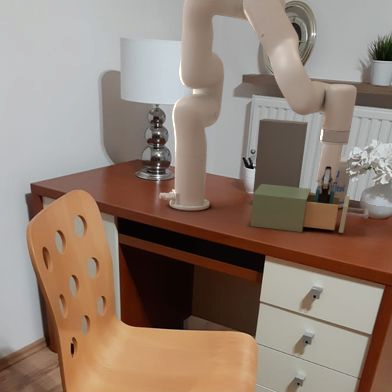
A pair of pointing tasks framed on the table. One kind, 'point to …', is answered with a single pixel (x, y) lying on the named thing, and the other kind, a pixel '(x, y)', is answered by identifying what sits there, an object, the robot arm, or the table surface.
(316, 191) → the block
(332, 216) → the drawer
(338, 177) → the supplement tub
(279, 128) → the tall taupe upright panel
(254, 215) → the cabinet
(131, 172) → the table surface
